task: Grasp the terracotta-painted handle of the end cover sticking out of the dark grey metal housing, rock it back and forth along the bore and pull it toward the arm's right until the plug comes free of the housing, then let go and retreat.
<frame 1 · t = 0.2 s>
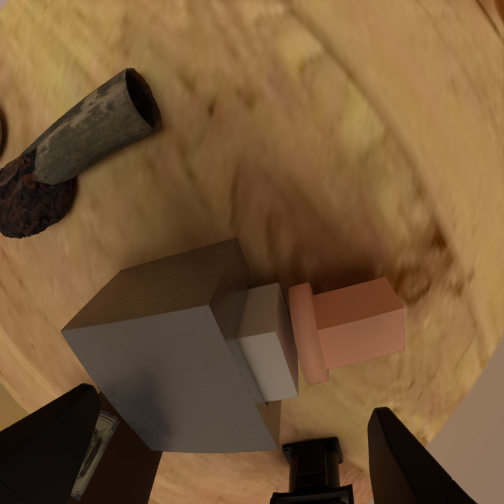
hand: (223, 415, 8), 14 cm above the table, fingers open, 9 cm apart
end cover: (280, 340, 19), point 4 cm above the table, slide at 2.5 cm
housing: (202, 322, 24), on the table
metal pipe: (72, 165, 20), on the table
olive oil: (134, 410, 30), on the table
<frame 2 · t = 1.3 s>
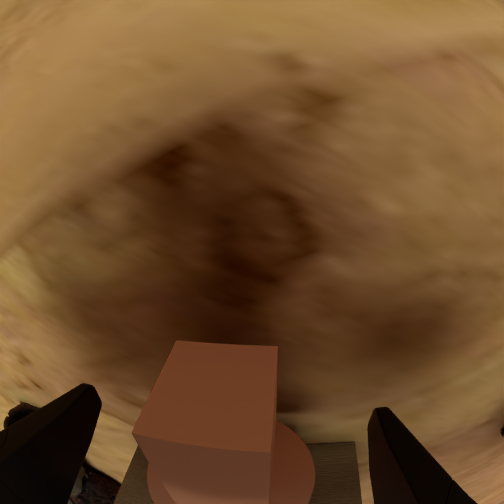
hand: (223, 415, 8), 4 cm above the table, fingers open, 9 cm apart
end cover: (234, 493, 10), point 4 cm above the table, slide at 2.5 cm
housing: (249, 477, 16), on the table
metal pipe: (88, 462, 20), on the table
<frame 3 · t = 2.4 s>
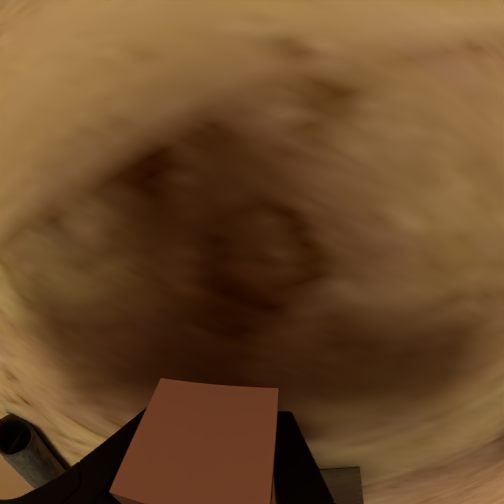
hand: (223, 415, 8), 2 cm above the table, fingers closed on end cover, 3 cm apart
housing: (248, 498, 14), on the table
metal pipe: (77, 473, 19), on the table
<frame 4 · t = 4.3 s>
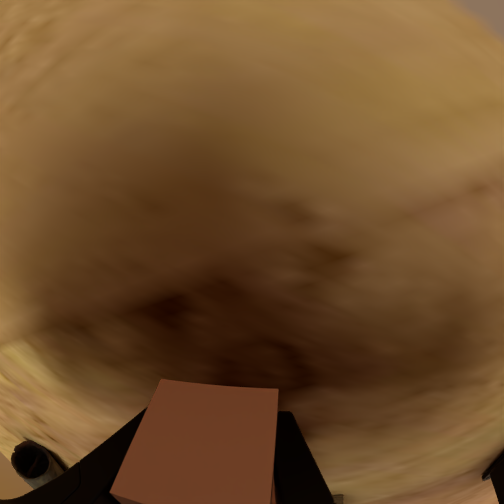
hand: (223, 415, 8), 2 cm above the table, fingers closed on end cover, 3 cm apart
metal pipe: (86, 487, 20), on the table
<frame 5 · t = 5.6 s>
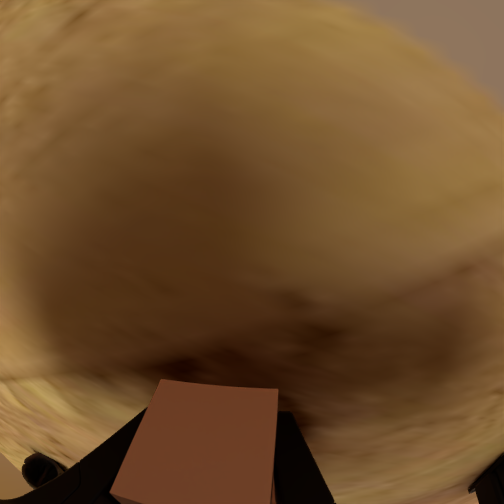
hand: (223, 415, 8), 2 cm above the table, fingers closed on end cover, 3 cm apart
metal pipe: (93, 495, 21), on the table, touching plastic bottle
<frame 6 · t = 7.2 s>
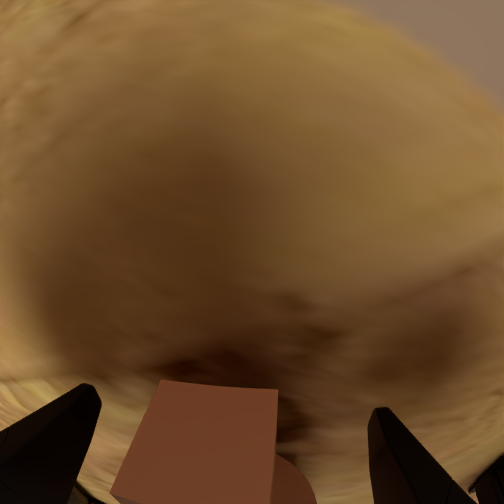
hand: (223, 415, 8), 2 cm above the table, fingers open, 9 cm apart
metal pipe: (90, 493, 21), on the table
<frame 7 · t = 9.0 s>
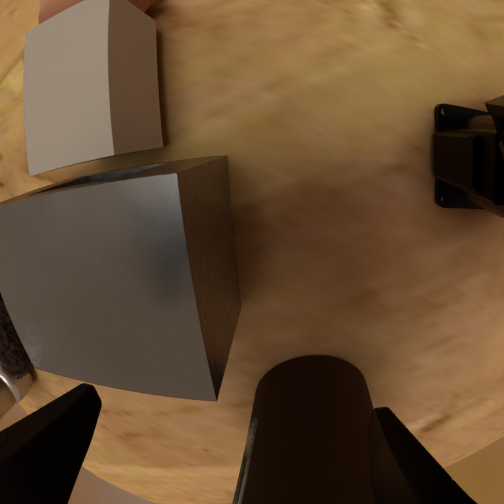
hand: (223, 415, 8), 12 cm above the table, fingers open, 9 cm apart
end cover: (92, 30, 11), point 4 cm above the table, slide at 9.4 cm
plastic bottle: (20, 363, 28), on the table
housing: (145, 241, 20), on the table
metal pipe: (10, 292, 24), on the table
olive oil: (310, 393, 23), on the table
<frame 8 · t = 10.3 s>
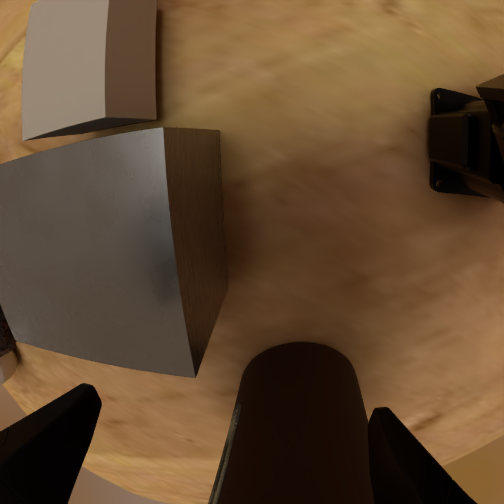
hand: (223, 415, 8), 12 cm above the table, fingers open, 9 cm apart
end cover: (94, 4, 10), point 4 cm above the table, slide at 9.4 cm
plastic bottle: (6, 344, 27), on the table
housing: (134, 215, 19), on the table
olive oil: (297, 383, 23), on the table
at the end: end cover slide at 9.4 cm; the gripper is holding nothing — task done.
